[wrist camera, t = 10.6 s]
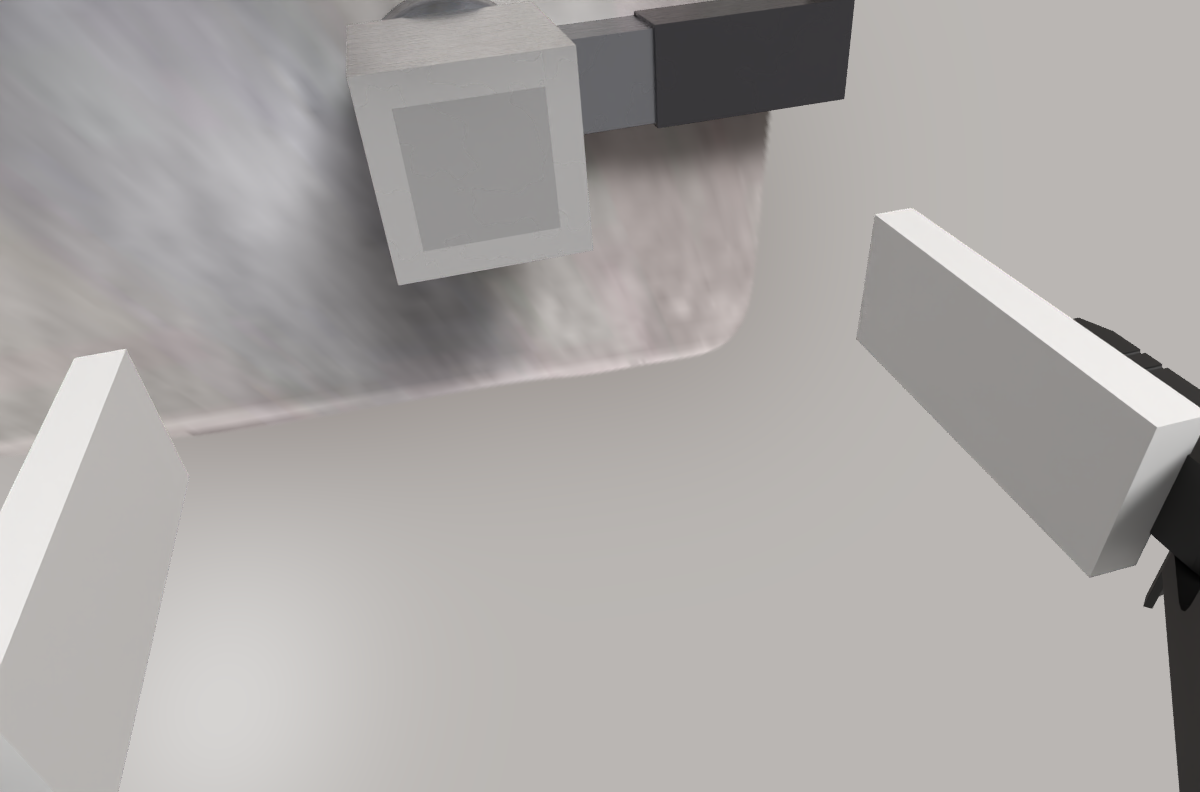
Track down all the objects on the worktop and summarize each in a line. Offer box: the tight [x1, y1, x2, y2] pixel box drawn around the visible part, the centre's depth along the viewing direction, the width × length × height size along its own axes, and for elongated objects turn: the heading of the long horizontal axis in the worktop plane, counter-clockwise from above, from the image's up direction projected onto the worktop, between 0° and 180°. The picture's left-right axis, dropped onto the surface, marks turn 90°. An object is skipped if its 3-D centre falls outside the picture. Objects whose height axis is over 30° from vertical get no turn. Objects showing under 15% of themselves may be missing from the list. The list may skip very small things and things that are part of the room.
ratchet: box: [382, 0, 855, 134], centre depth 30 cm, size 19×7×8 cm, turn 94°
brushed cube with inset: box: [346, 1, 593, 286], centre depth 27 cm, size 6×6×7 cm
